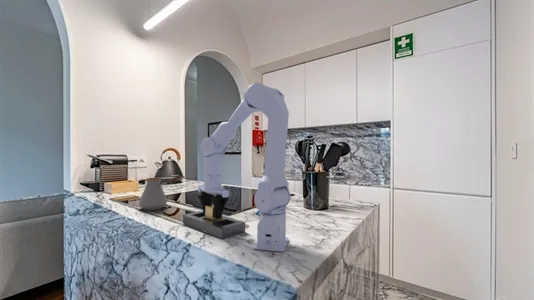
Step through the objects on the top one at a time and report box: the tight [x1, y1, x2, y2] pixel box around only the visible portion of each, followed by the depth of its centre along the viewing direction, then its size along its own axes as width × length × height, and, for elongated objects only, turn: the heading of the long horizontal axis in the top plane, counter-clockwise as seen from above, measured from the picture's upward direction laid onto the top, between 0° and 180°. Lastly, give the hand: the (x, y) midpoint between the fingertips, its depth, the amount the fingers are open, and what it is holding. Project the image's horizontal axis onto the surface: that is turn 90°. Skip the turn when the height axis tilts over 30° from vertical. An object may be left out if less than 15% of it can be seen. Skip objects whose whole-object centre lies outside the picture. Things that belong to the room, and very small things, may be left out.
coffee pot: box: [138, 174, 186, 211], centre depth 108 cm, size 21×12×15 cm, turn 71°
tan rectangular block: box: [205, 204, 222, 222], centre depth 84 cm, size 4×4×7 cm
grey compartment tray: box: [182, 210, 246, 240], centre depth 83 cm, size 22×9×3 cm, turn 47°
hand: (212, 216), depth 83 cm, fingers open, 6 cm apart
